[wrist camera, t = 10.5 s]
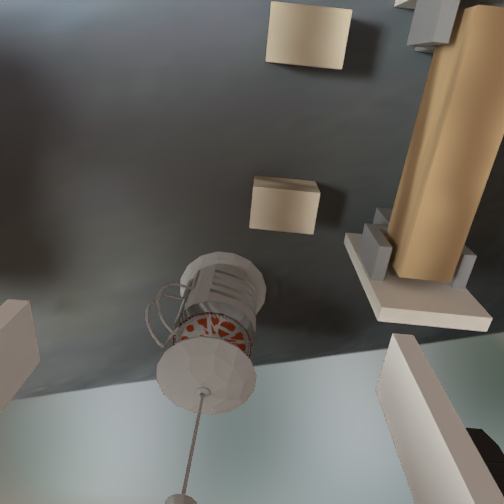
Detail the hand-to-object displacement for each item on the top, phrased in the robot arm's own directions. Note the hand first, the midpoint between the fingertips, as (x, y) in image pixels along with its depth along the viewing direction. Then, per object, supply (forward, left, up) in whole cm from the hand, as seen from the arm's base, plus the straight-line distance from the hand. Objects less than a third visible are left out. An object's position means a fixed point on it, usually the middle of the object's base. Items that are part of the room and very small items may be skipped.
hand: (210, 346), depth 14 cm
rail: (+15, +5, -20) cm, 26 cm away
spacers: (+4, +5, -26) cm, 27 cm away
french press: (-2, -13, -27) cm, 30 cm away
